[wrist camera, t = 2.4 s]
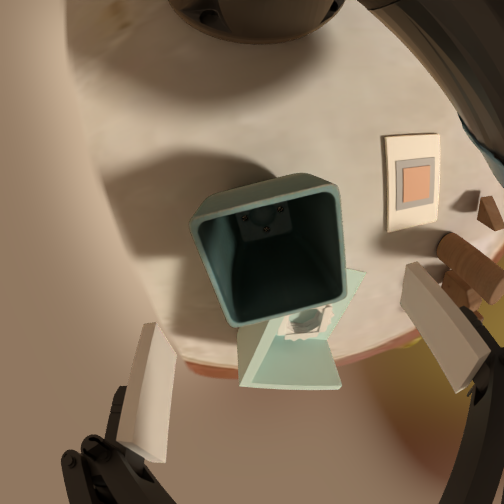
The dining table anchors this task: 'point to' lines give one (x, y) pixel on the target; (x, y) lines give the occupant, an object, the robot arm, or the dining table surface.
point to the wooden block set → (472, 265)
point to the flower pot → (273, 247)
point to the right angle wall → (294, 347)
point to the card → (412, 180)
